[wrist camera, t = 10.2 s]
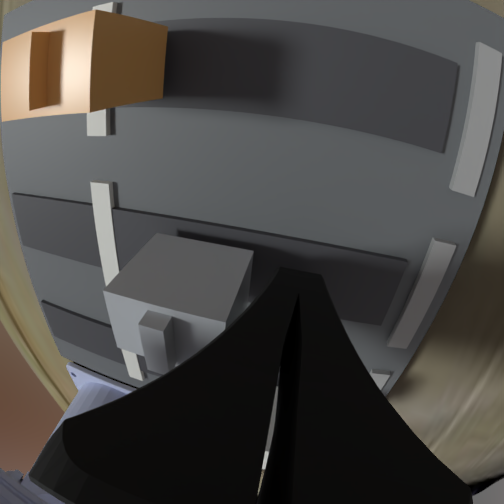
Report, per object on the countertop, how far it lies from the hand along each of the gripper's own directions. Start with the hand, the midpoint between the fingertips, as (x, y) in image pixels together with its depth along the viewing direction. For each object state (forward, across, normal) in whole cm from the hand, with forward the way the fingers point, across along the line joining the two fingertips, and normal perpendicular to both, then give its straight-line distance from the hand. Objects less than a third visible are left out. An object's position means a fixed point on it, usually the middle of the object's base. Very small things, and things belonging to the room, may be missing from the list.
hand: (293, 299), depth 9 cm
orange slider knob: (+1, +6, -6) cm, 8 cm away
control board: (+2, +4, 0) cm, 4 cm away
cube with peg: (+1, +3, 0) cm, 3 cm away
